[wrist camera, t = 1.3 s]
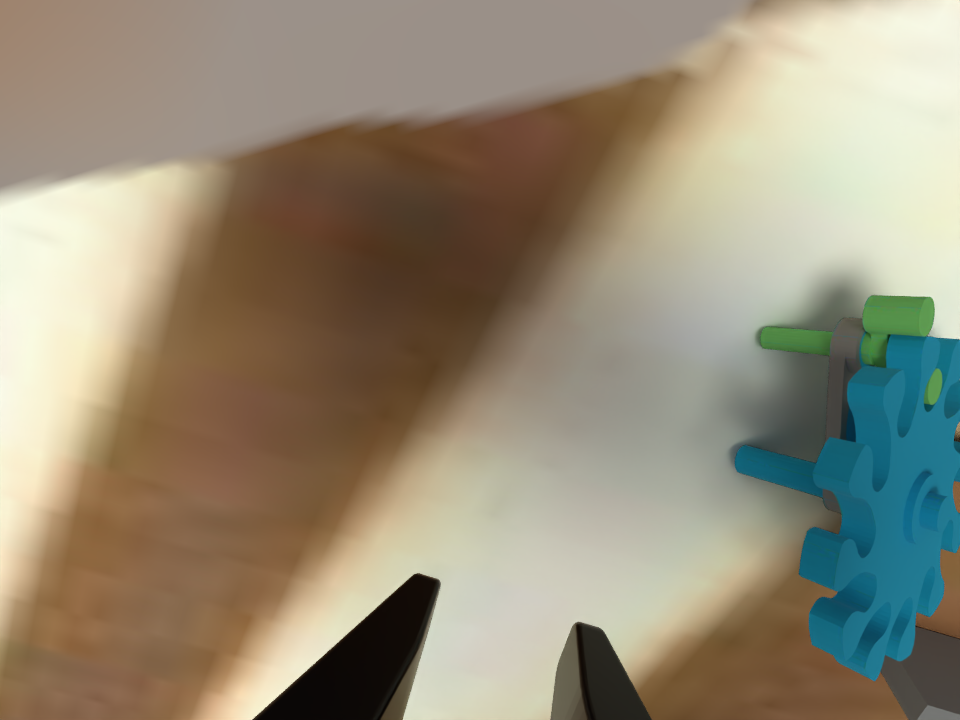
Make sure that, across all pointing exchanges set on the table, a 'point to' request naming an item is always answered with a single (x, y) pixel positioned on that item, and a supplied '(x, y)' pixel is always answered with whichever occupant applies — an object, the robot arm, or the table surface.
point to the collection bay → (927, 677)
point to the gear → (877, 477)
